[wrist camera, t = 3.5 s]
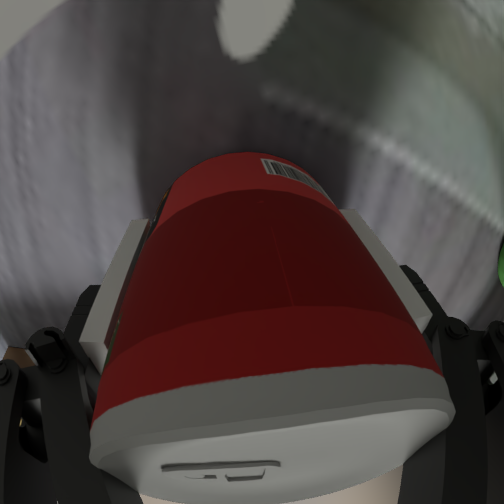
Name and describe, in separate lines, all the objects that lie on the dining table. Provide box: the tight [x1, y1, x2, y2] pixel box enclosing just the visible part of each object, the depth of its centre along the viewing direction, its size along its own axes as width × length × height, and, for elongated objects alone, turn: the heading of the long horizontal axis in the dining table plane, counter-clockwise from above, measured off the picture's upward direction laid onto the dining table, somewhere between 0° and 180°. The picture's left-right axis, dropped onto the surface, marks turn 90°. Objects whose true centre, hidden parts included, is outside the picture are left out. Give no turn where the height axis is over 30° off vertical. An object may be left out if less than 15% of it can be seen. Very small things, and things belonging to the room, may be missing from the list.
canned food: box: [89, 152, 456, 504], centre depth 10 cm, size 8×8×11 cm
